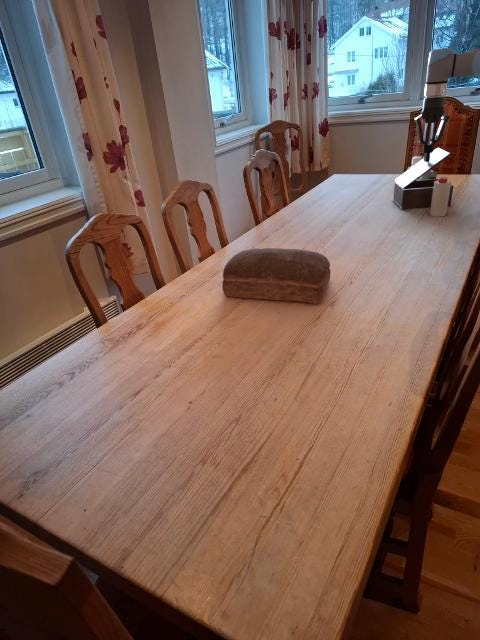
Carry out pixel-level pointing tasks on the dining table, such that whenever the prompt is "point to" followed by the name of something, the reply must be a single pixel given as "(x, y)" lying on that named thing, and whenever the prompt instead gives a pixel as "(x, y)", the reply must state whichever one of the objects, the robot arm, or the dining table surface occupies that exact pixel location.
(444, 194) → the bottle
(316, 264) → the bread
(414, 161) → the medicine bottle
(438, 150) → the lid
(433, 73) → the robot arm
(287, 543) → the dining table surface
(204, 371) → the dining table surface
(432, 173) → the food container
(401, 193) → the open box
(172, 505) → the dining table surface
